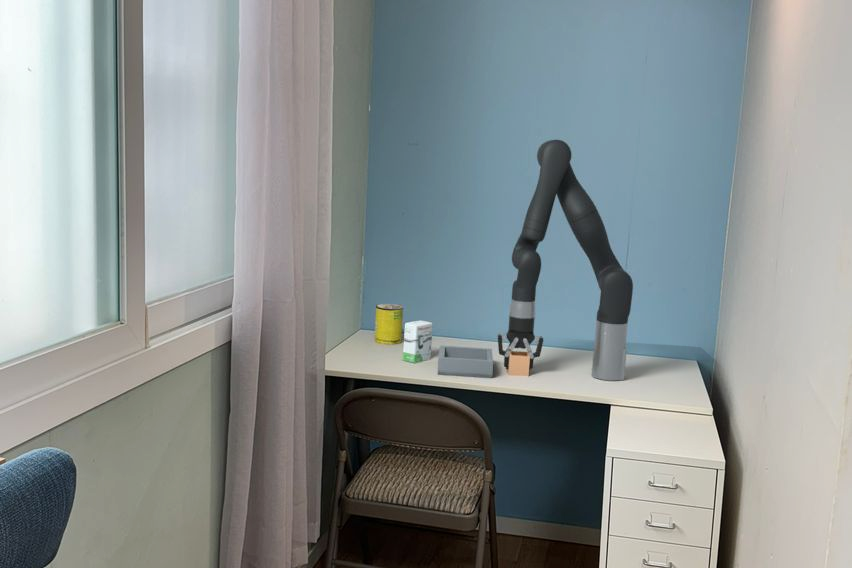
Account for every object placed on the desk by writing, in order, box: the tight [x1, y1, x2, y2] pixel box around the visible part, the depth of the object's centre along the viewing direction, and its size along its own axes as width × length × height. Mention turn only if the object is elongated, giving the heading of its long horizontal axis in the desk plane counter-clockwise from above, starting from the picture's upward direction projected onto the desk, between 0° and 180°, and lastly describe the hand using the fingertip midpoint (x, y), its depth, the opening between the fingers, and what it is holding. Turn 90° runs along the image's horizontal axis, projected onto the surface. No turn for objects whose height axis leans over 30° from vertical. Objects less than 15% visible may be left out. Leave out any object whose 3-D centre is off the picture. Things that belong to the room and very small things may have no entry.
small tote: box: [506, 350, 530, 377], centre depth 269 cm, size 6×6×6 cm
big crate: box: [437, 345, 494, 379], centre depth 270 cm, size 16×16×5 cm
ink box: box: [402, 319, 434, 364], centre depth 278 cm, size 9×5×12 cm, turn 142°
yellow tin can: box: [374, 303, 404, 346], centre depth 300 cm, size 9×9×12 cm
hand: (518, 369), depth 270 cm, fingers closed on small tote, 6 cm apart
